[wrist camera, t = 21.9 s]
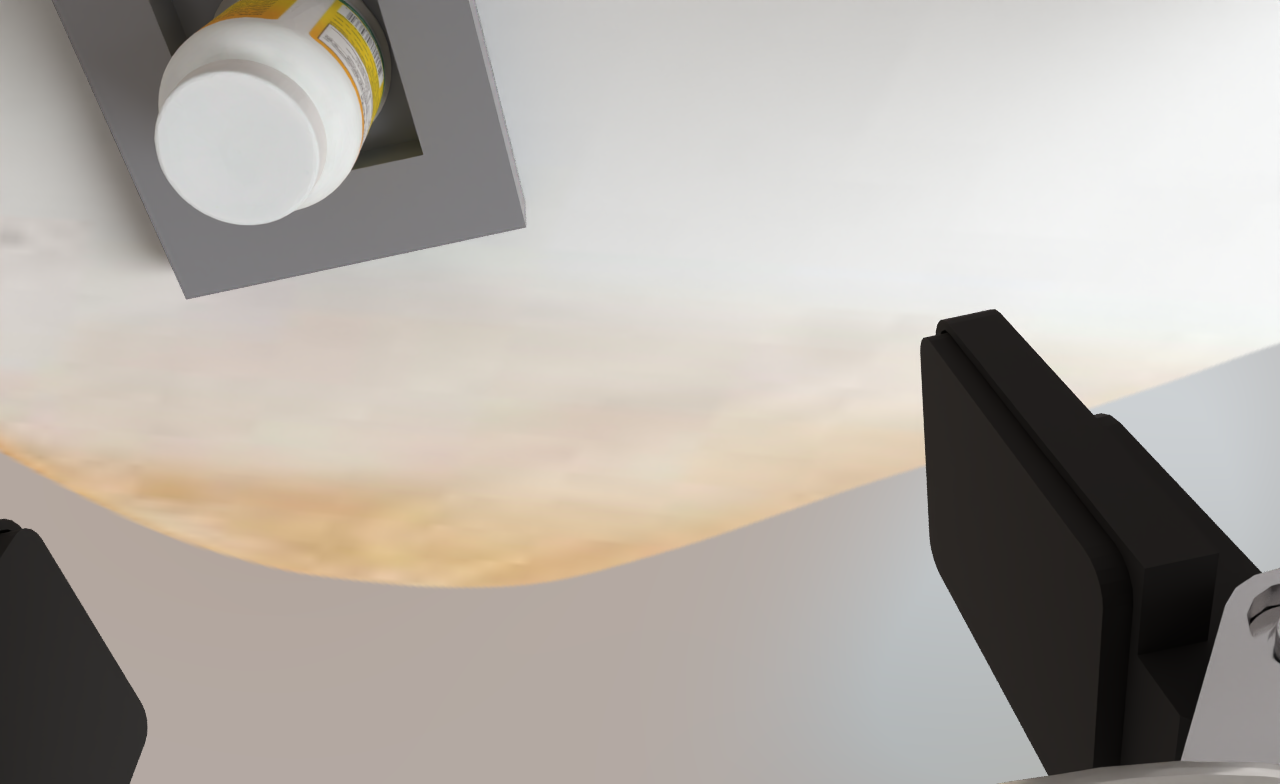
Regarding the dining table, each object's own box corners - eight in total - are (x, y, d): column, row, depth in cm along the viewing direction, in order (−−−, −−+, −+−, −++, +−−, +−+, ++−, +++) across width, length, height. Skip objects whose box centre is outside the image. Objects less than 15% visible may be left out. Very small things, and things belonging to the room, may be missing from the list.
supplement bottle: (410, 23, 35) (380, 101, 26) (355, 168, 37) (311, 282, 28) (244, -54, 33) (156, 3, 25) (197, 103, 35) (101, 203, 27)
